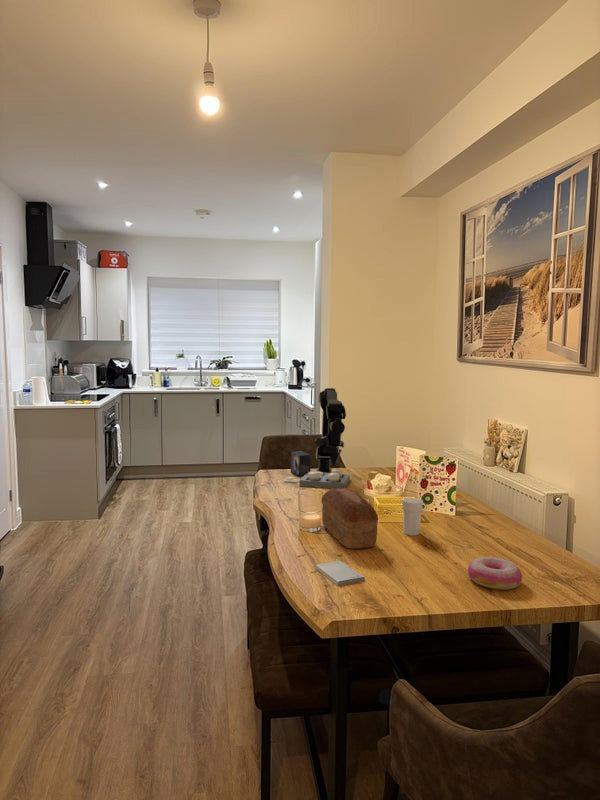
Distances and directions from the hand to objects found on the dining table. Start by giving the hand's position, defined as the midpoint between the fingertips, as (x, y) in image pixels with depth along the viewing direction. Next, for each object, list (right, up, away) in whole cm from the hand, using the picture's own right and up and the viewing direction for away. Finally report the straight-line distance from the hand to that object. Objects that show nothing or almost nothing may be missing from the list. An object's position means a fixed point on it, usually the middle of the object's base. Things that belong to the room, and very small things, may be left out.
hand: (333, 465), depth 244 cm
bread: (0, -15, -66) cm, 68 cm away
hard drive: (-4, -18, -97) cm, 99 cm away
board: (-8, -8, +7) cm, 13 cm away
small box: (-15, -7, +23) cm, 28 cm away
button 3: (0, -7, +1) cm, 7 cm away
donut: (+36, -19, -100) cm, 108 cm away
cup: (+22, -15, -62) cm, 67 cm away
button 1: (-9, -6, +2) cm, 11 cm away
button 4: (+2, -6, +9) cm, 11 cm away
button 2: (-7, -8, +11) cm, 15 cm away
